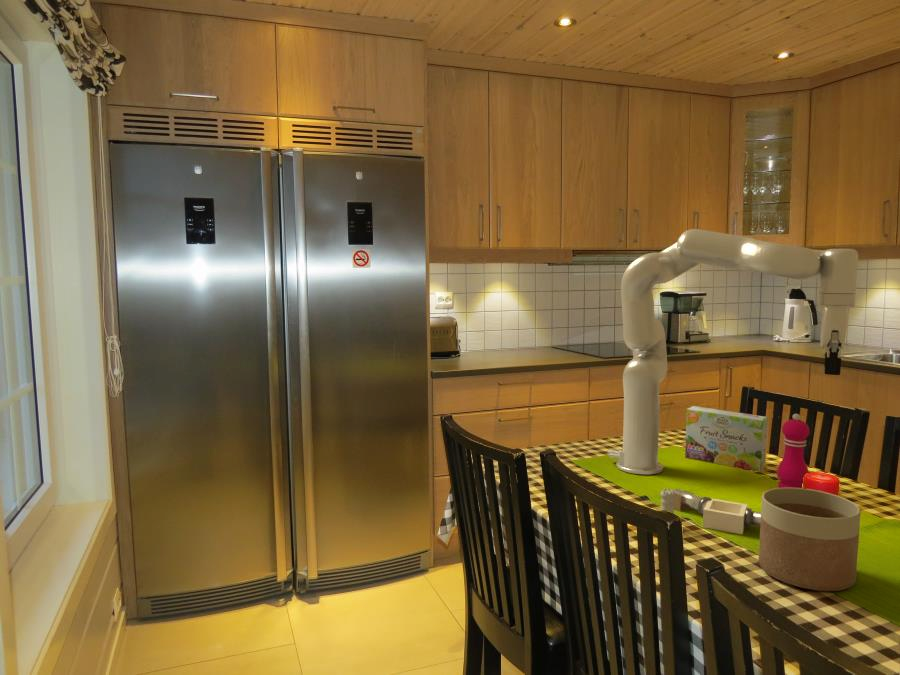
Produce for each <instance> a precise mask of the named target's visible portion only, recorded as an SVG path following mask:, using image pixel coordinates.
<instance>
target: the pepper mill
mask: <svg viewBox="0 0 900 675" xmlns="http://www.w3.org/2000/svg"><path fill="white" fill-rule="evenodd" d="M781 430H782V431H781V432H782V434H783V435H784V437H783V444H784V445H785V450H784V454H783V455H784V456H783V458H782V459H781V461H780V463H779V464H778V467H777V470H776V476H777V477H778V479H779V481H778V484H777V485H778V486H777V488H802V483H803V477H804V475H805V474H806V473H809V474H810V472H809V468H808V465H807V464H806V462H805V457H804V449H805V447H806V446H807V437H808V436H809V434H810V427H809V425H808V424H807V423H806V422H805V421H804V420H801V415H800V414H798V413H794V414H793V415H792V419H787V421H785V422H784V423H783V425H782V428H781Z"/></svg>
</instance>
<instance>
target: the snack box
mask: <svg viewBox="0 0 900 675" xmlns="http://www.w3.org/2000/svg"><path fill="white" fill-rule="evenodd" d="M768 421H769V418H768V417H767V416H762V415H755V414H751V413H744V412H737V411H729V410H723V409H716V408H711V407H710V408H709V407H703V406H697V405H692V406H690V407H689V408H686V421H685V422H686V427H685V428H686V429H685V446H684V447H685V448H684V452H685V453H684V458H685V459H686V458H687V459H693V460H698V461H701V460H702V462H706V461H707V462H708V463H711V462H712V463H713V464H716V463H717V464H716V465H723V466H726V465H727V466H726V467H730V466H732V467H731V468H735V467H737V468H736V469H740V468H742V469H741V470H745V469H747V470H746V471H750V470H752V471H751V472H755V471H757V472H756V473H761V472H762V471H763V470H765V469H766V461H767V460H766V459H767V443H768V440H767V439H768V425H769V424H768V423H769V422H768Z"/></svg>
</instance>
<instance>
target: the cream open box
mask: <svg viewBox="0 0 900 675" xmlns="http://www.w3.org/2000/svg"><path fill="white" fill-rule="evenodd" d="M746 508H748V504H747V503H741V502H734V501H730V500H723V499H718V498H717V499H716V498H711V500H708V501H707V503H706V505H705V507H704V509H703V514H702V515H703V516H702V528H706V529H711V530H716V531H722V532H727V533H733V534H737V535H743V534H744V531H745V528H746V527H745V524H744V518H745V510H746Z"/></svg>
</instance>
